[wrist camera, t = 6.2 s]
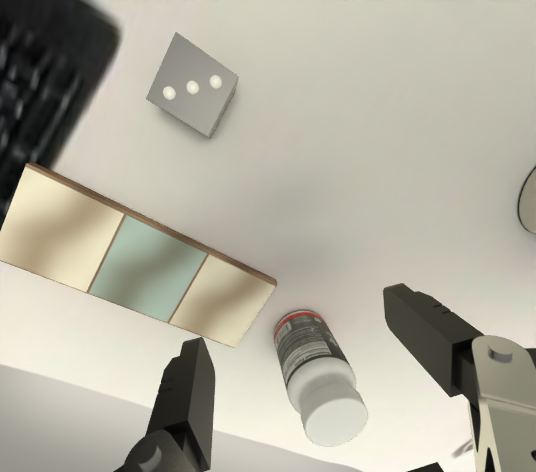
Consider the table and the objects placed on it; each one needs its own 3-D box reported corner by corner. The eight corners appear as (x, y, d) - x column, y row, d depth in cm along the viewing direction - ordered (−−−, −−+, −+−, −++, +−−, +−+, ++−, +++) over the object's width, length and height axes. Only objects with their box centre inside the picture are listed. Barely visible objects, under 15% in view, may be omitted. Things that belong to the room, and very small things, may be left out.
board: (275, 280, 25) (277, 285, 24) (234, 342, 27) (235, 349, 26) (34, 162, 19) (24, 163, 18) (-1, 253, 21) (-12, 258, 20)
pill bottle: (329, 343, 29) (379, 436, 20) (280, 360, 29) (307, 463, 19) (319, 300, 27) (370, 382, 18) (266, 318, 26) (289, 411, 17)
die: (235, 89, 20) (238, 76, 16) (210, 138, 20) (207, 136, 17) (185, 54, 18) (175, 31, 15) (161, 107, 19) (145, 98, 15)
